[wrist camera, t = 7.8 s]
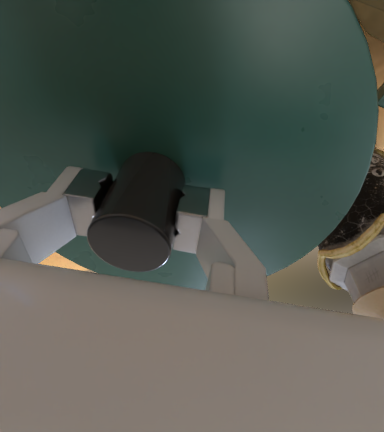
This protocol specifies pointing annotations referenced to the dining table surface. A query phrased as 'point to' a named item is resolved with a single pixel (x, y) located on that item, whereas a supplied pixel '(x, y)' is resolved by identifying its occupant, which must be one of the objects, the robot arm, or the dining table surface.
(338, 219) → the lid
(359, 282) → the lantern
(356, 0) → the pot
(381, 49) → the dining table surface
